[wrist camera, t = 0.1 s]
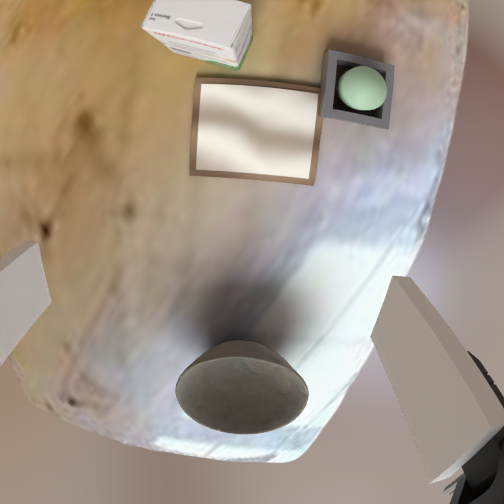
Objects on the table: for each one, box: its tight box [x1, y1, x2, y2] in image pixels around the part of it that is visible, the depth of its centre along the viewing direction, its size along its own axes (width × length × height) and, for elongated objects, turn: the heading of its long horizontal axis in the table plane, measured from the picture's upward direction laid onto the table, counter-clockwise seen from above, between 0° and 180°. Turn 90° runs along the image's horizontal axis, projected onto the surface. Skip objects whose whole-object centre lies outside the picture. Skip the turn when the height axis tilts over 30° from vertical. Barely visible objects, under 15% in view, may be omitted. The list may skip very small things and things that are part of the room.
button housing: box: [318, 50, 394, 129], centre depth 30 cm, size 8×8×3 cm
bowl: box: [175, 340, 309, 434], centre depth 43 cm, size 19×19×10 cm
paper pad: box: [190, 78, 322, 186], centre depth 33 cm, size 12×15×1 cm
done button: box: [337, 66, 387, 110], centre depth 28 cm, size 5×5×3 cm
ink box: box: [141, 0, 252, 70], centre depth 24 cm, size 8×5×12 cm, turn 69°
